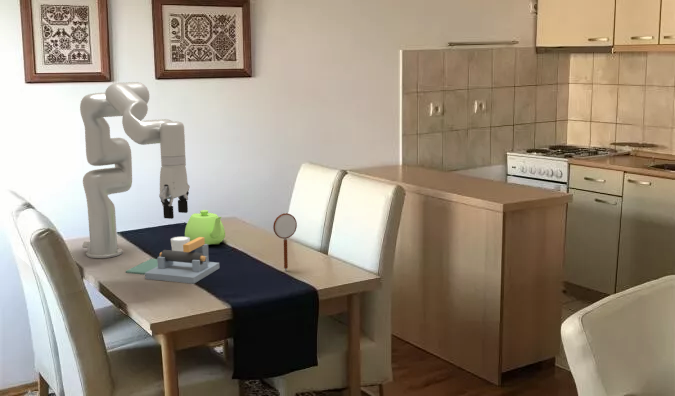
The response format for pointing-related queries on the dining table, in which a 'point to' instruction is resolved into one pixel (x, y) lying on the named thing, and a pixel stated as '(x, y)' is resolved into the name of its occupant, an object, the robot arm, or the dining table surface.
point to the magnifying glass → (285, 231)
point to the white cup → (179, 243)
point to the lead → (182, 256)
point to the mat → (143, 267)
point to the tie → (193, 244)
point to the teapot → (205, 227)
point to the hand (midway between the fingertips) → (176, 215)
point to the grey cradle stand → (183, 269)
